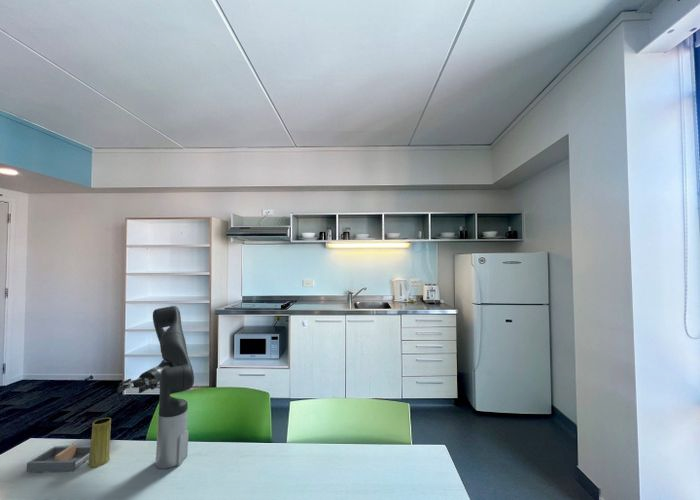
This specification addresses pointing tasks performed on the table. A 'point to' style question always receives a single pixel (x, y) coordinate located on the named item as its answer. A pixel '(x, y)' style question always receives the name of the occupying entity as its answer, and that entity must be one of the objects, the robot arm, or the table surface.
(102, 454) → the vase
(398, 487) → the table surface
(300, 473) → the table surface
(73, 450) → the pusher
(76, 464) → the grey tray
